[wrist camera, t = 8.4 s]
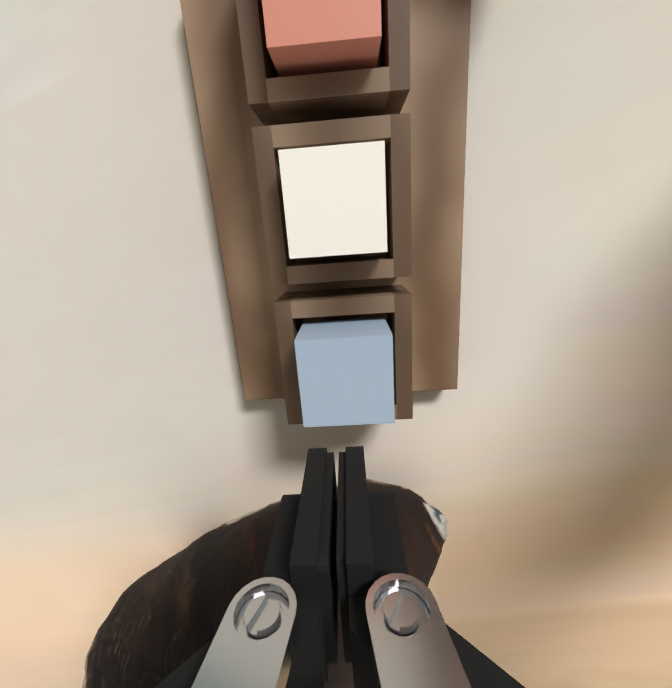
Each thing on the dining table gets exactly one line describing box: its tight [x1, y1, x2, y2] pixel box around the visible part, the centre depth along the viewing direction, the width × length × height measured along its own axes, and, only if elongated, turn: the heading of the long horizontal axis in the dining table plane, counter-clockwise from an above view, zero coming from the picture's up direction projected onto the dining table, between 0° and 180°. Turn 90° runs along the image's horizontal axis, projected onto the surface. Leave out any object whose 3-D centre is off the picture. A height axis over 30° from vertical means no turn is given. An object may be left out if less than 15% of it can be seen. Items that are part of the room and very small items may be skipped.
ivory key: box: [278, 141, 387, 259], centre depth 19 cm, size 5×5×4 cm
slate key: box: [294, 317, 395, 427], centre depth 20 cm, size 5×5×4 cm
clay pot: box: [82, 479, 447, 688], centre depth 27 cm, size 15×15×25 cm
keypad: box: [180, 0, 471, 424], centre depth 21 cm, size 16×26×6 cm, turn 4°
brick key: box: [262, 0, 382, 77], centre depth 16 cm, size 5×5×4 cm
